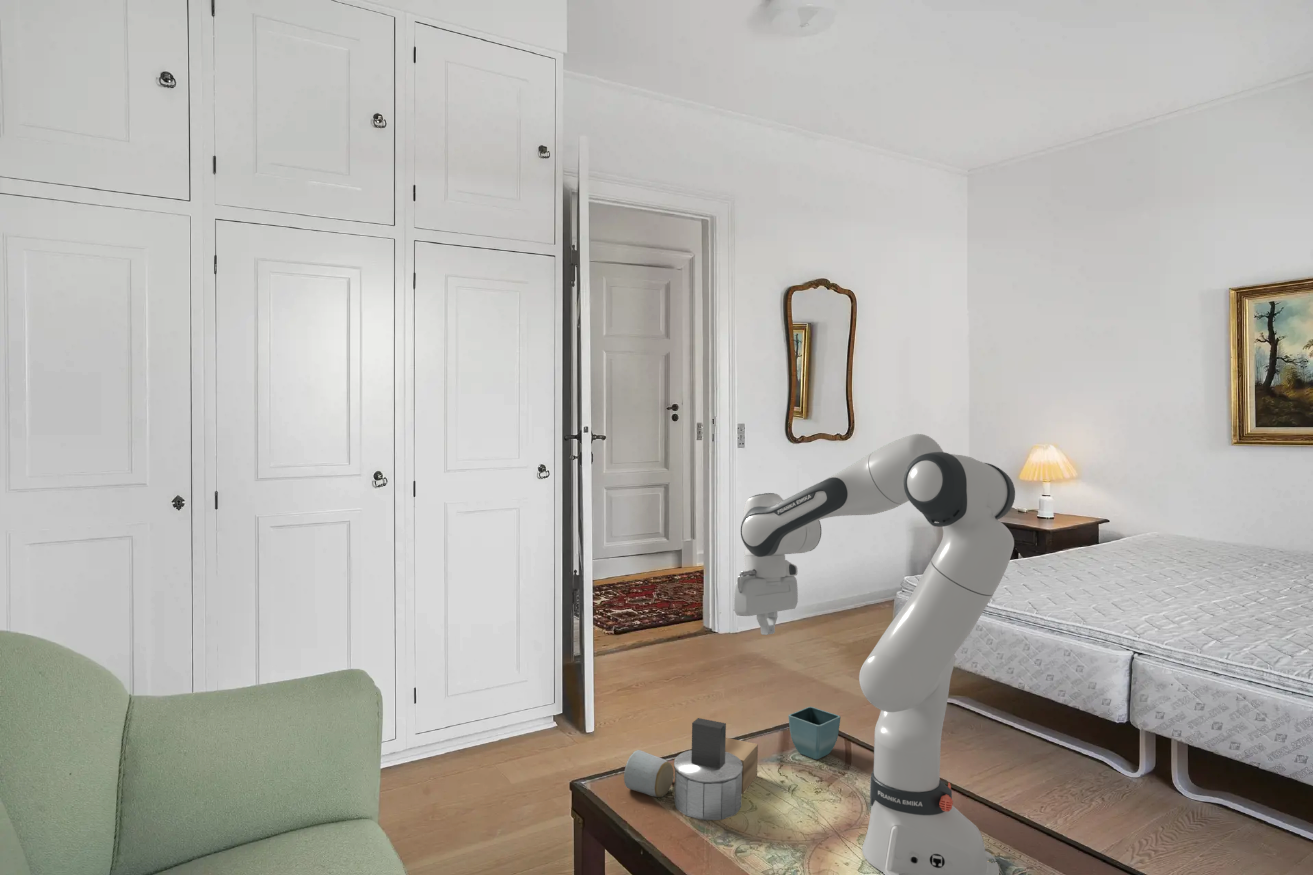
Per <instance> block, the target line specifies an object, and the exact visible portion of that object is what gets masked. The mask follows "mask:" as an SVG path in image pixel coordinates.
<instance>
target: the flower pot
mask: <svg viewBox="0 0 1313 875" xmlns="http://www.w3.org/2000/svg"><path fill="white" fill-rule="evenodd" d="M840 724H841V715H838V714H835V713H831V712H829V711H825V710H822V709H819V708H817V707H814V706H807V707H804V708H803V709H800V710H798V711H796V712H793V713H790V714H788V725H789V733H790V737H791V740H792V743H793V745H794V747H795V749H796V751H797V752H798V753H799V754H800V755H803V756H806V757H808V758H811V759H813V760H820V759H821V758H823V757H826V756H827V755H829V754H830V753H831V752H832V751H833V749H834V748H835V745H836V743H837V741H838V737H839V731H840Z"/></svg>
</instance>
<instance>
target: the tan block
mask: <svg viewBox="0 0 1313 875" xmlns="http://www.w3.org/2000/svg"><path fill="white" fill-rule="evenodd" d="M725 752H728V753H731V754H733V755H735V756H736V757H738V758H739V759H740V760H741V762H742V764H743V769H742V795H744V793H745V792H746V791H747V790H748V788H749V787H750V786H751V785H752V783H753V782H754V781H755V779H756V778H757V777H758V760H759V759H758V753H759V744H758V743H754V742H749V741H744V740H739V739H734V738H730V737H726V743H725Z"/></svg>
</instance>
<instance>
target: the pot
mask: <svg viewBox="0 0 1313 875" xmlns="http://www.w3.org/2000/svg"><path fill="white" fill-rule="evenodd" d="M673 788H674V791H673V793H674V796H673V797H674V798H673V800H674V806H675V809H677V811H679V812H680V813H682V814H683V815H685V816H686V817H689V818H694V819H697V820H700V821H721V820H725V819H728V818H731V817H733V816H736V814H737V813H738V812H739V811H740V809H741V808H742V795H743V794H742V773H741V774H740V775H739V776H738V777H737V778H735V779H732V780H730V781H726V782H719V783H704V782H698V781H693V780H690V779H687V778H685V777H683V776H681V775H680V774H678V773H677V772H676V770H675V769H674V787H673Z"/></svg>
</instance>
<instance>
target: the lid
mask: <svg viewBox="0 0 1313 875" xmlns="http://www.w3.org/2000/svg"><path fill="white" fill-rule="evenodd" d="M726 728H727V722H721V721H716V720H710V719H705V718H700V717H697V718H696V719H695V720H694V721H693V722H691V750H685V751H684V752H681V753H680V754H677V756H676V757H674V761H673V769H674V771H675V770H676V772H677V773H678V774H680V775H681V776H683V777H685V778H687V779H690V780H693V781H698V782H704V783H719V782H726V781H730V780H732V779H735V778H737V777H738V776H739V775H740V774H741V773H742V769H743V764H742V762H741V760H740V759H739V758H738V757H736V756H735V755H733V754H731V753H728V752H725V743H726V738H727V735H726V732H727V729H726Z"/></svg>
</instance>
